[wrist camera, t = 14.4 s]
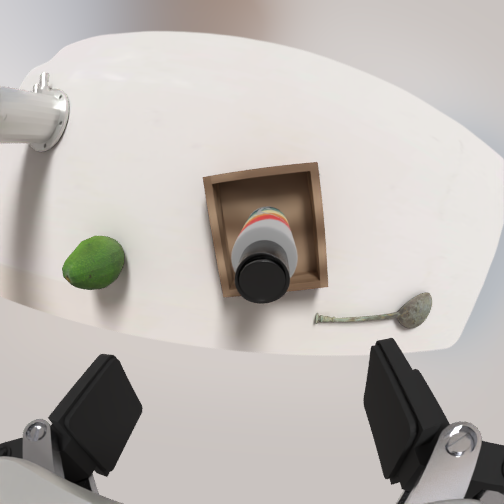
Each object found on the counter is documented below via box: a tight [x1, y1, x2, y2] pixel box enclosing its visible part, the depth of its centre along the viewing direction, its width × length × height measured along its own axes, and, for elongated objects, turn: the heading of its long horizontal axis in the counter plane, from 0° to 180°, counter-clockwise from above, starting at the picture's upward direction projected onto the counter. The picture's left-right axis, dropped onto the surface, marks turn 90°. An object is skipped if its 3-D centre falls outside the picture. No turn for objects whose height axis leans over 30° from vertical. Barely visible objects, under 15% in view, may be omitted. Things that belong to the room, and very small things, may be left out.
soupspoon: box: [316, 293, 432, 328], centre depth 40 cm, size 22×3×7 cm
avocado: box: [62, 236, 124, 290], centre depth 36 cm, size 8×8×12 cm
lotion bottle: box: [231, 206, 298, 303], centre depth 28 cm, size 6×6×20 cm
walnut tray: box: [203, 162, 328, 297], centre depth 36 cm, size 16×14×5 cm
